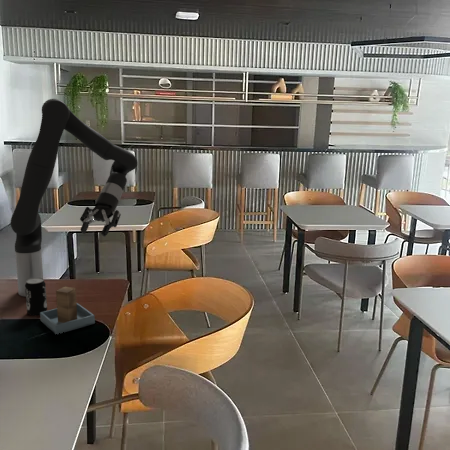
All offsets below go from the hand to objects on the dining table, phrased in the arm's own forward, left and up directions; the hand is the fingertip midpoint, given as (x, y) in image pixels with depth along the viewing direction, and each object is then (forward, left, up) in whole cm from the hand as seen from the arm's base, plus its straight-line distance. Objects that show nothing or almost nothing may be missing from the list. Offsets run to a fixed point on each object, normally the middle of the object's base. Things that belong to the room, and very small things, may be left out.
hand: (92, 234), depth 167 cm
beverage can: (-5, -20, -27) cm, 34 cm away
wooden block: (+9, -15, -26) cm, 31 cm away
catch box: (+9, -15, -26) cm, 32 cm away
